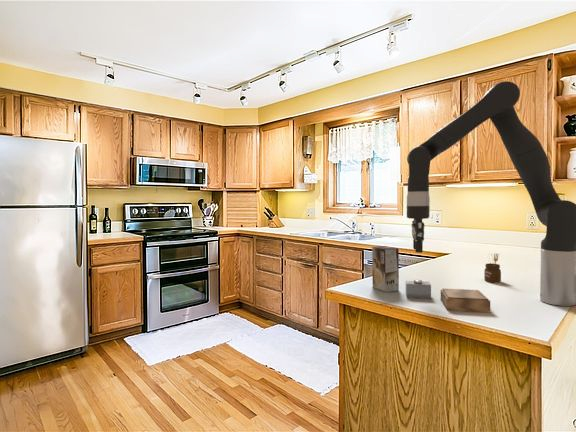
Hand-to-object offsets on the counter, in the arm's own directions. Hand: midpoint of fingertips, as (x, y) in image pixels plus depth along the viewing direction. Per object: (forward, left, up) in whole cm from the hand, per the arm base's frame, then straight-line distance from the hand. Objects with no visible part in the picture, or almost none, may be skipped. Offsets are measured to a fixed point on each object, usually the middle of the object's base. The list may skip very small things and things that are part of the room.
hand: (417, 250), depth 125 cm
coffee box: (+11, -9, -16) cm, 22 cm away
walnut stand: (-13, +9, -16) cm, 23 cm away
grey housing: (0, 0, -16) cm, 16 cm away
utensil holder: (-32, -30, -16) cm, 47 cm away
